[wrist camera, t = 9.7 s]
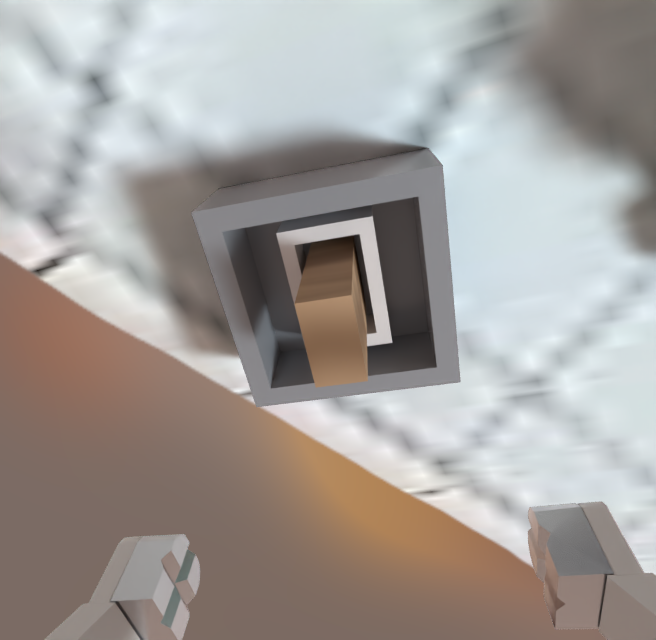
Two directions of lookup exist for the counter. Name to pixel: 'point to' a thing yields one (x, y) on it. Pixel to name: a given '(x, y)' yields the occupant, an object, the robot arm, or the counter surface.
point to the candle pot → (374, 262)
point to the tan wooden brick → (333, 313)
